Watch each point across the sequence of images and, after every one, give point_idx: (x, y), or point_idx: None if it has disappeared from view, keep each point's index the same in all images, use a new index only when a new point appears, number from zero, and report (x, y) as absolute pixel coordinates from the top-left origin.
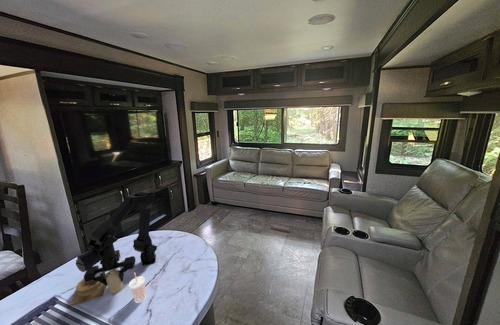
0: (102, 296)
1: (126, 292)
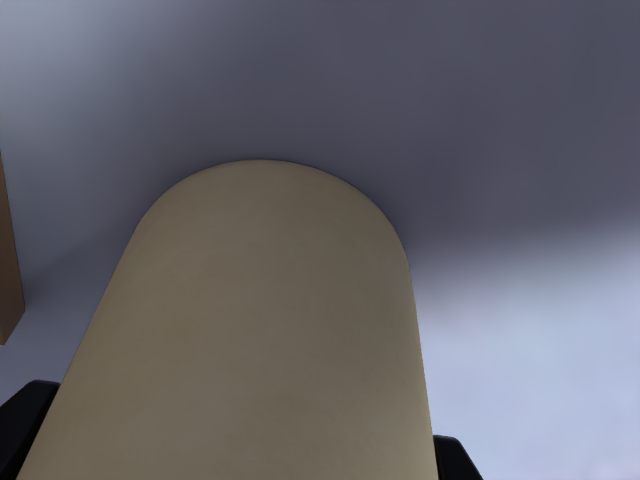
0: (20, 312)
1: (437, 428)
